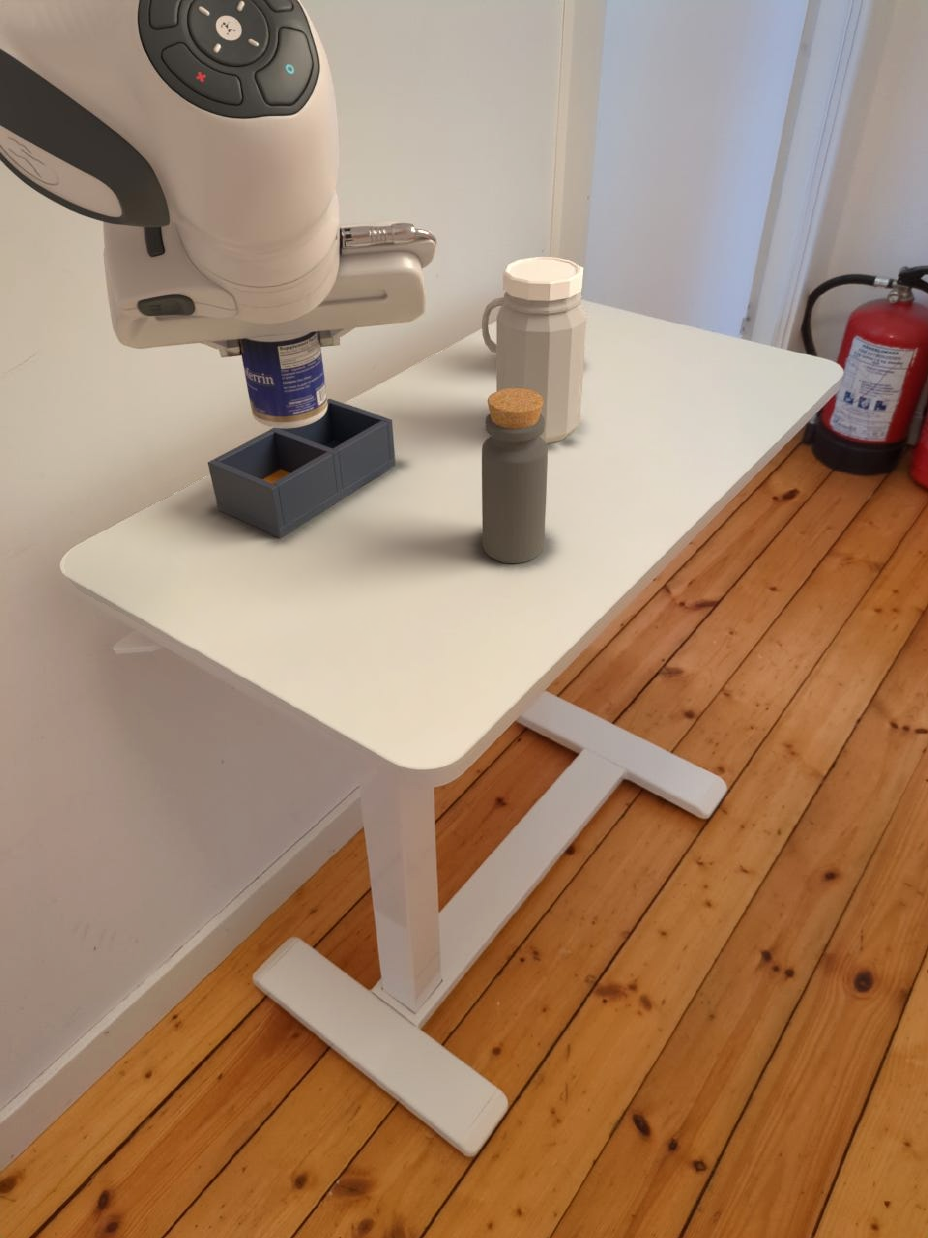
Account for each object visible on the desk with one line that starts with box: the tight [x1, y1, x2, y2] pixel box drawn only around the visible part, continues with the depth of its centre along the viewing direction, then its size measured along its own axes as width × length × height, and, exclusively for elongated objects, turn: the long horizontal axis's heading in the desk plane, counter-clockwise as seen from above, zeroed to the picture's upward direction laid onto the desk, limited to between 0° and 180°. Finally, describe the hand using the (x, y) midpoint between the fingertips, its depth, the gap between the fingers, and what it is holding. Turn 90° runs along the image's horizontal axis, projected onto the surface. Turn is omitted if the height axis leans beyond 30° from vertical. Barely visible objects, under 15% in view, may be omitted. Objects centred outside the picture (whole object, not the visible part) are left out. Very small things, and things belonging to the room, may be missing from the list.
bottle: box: [481, 388, 549, 564], centre depth 80 cm, size 6×6×15 cm
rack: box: [207, 398, 397, 539], centre depth 93 cm, size 17×9×6 cm, turn 143°
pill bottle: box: [239, 331, 328, 428], centre depth 65 cm, size 6×6×10 cm
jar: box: [495, 256, 588, 444], centre depth 98 cm, size 10×10×18 cm
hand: (279, 341), depth 65 cm, fingers closed on pill bottle, 6 cm apart
